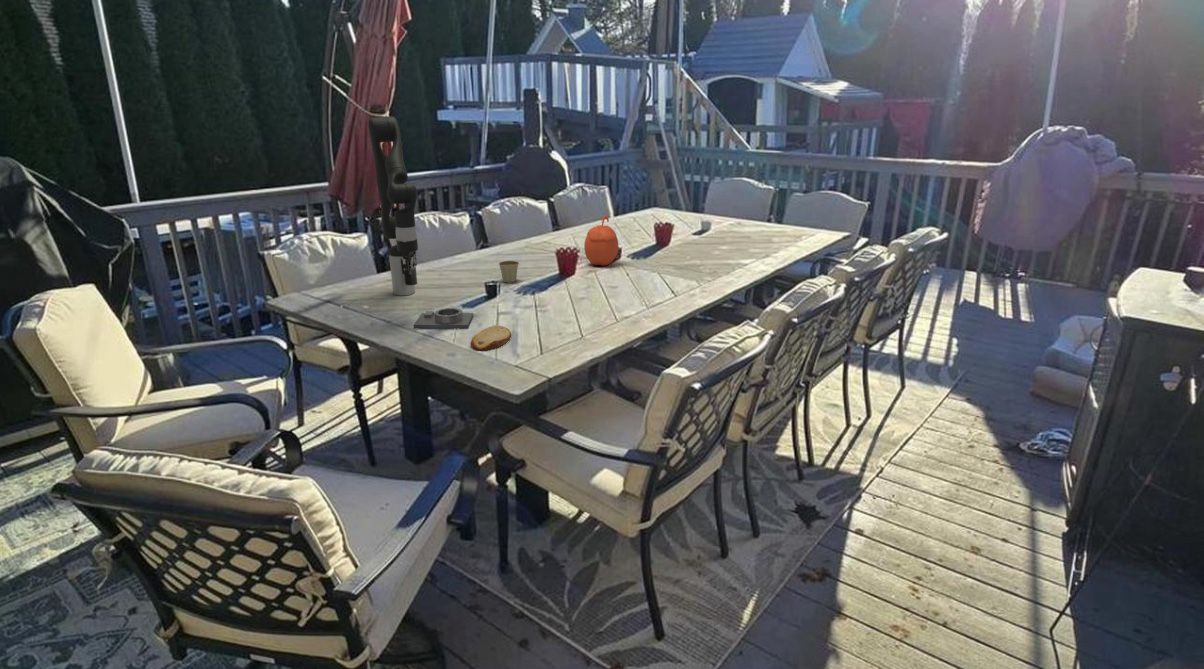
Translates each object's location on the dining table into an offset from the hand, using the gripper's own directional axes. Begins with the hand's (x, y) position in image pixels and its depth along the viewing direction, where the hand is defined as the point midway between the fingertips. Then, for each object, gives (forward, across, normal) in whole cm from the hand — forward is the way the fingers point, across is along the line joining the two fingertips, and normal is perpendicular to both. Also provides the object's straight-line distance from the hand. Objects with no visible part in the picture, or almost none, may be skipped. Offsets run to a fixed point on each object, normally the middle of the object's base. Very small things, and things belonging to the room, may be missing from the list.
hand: (410, 281), depth 249 cm
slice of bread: (+15, +25, +33) cm, 44 cm away
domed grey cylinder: (+1, 0, 0) cm, 1 cm away
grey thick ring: (+13, +7, +15) cm, 21 cm away
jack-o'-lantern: (+16, -82, +76) cm, 113 cm away
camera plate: (+15, +6, +13) cm, 20 cm away
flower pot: (+16, -52, +32) cm, 63 cm away
